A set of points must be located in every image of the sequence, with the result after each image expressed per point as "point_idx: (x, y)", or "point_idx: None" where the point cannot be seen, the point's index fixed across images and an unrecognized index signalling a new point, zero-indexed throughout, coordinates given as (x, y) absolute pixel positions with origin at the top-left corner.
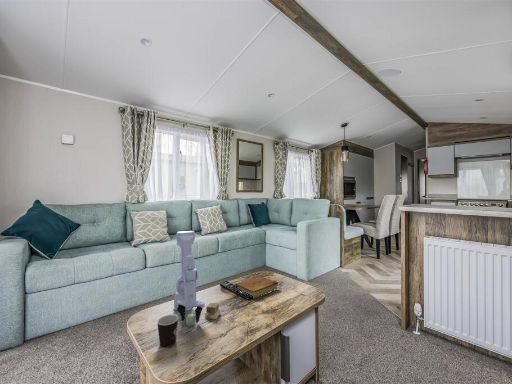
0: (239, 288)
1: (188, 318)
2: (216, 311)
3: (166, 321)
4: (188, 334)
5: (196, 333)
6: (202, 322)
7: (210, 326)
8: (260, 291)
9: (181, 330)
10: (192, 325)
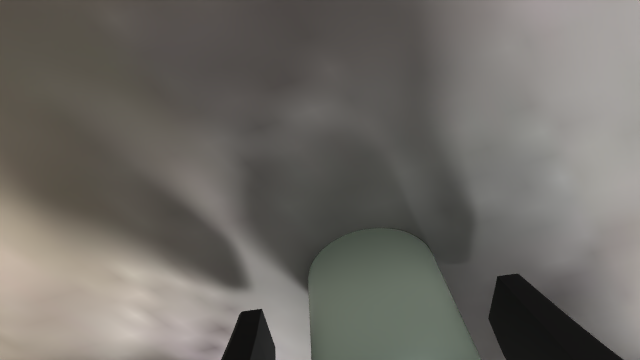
0: None
1: (397, 341)
2: None
3: None
4: (195, 17)
5: (76, 103)
6: None
7: (57, 309)
8: None
9: (420, 97)
10: (316, 257)
